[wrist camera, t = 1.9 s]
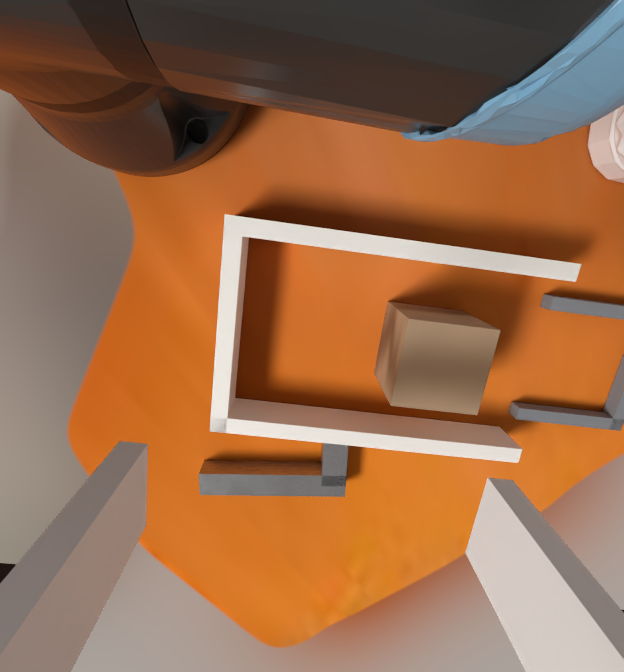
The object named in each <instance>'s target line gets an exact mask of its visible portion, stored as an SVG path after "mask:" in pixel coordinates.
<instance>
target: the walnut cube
mask: <svg viewBox="0 0 624 672" xmlns="http://www.w3.org/2000/svg"><path fill="white" fill-rule="evenodd" d="M500 331H501V330H499V329H497V328H495V327H493V326H491V325H489V324H488V323H486V322H484V321H482V320H480V319H478V318H476V317H474V316H472V315H470V314H468V313H466V312H464V311H461V310H453V309H445V308H438V307H430V306H422V305H414V304H406V303H399V302H391V301H388V303H387V308H386V313H385V318H384V324H383V329H382V334H381V340H380V345H379V350H378V355H377V361H376V366H375V371H374V374H375V376H376V378H377V380H378V382H379V384H380V386H381V388H382V390H383V392H384V394H385V395H386V397H387V399H388V401H389V403H390V405H391V406H398V407H407V408H416V409H425V410H434V411H443V412H452V413H461V414H470V415H478V411H479V407H480V404H481V400H482V397H483V393H484V389H485V386H486V382H487V378H488V375H489V371H490V367H491V364H492V360H493V357H494V353H495V349H496V346H497V342H498V338H499V335H500Z"/></svg>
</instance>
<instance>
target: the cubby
mask: <svg viewBox="0 0 624 672" xmlns="http://www.w3.org/2000/svg"><path fill="white" fill-rule="evenodd" d="M249 237H251V238H258V239H265V240H273V241H280V242H287V243H295V244H302V245H309V246H317V247H324V248H331V249H339V250H346V251H353V252H361V253H368V254H375V255H383V256H390V257H397V258H405V259H412V260H419V261H427V262H434V263H441V264H449V265H456V266H463V267H471V268H478V269H485V270H493V271H500V272H507V273H515V274H522V275H529V276H537V277H544V278H551V279H559V280H566V281H573V282H576V279H577V276H578V273H579V270H580V267H581V264H577V263H570V262H563V261H556V260H549V259H541V258H534V257H527V256H520V255H513V254H506V253H498V252H491V251H484V250H477V249H470V248H463V247H455V246H448V245H441V244H434V243H427V242H420V241H412V240H405V239H398V238H391V237H384V236H377V235H370V234H362V233H355V232H348V231H341V230H334V229H327V228H319V227H312V226H305V225H298V224H291V223H284V222H276V221H269V220H262V219H255V218H248V217H241V216H233V215H226V214H225V220H224V235H223V249H222V263H221V278H220V292H219V306H218V321H217V335H216V349H215V364H214V378H213V392H212V407H211V421H210V431H212V432H222V433H232V434H242V435H251V436H261V437H271V438H281V439H290V440H300V441H310V442H320V443H329V444H339V445H349V446H359V447H368V448H378V449H388V450H398V451H407V452H417V453H427V454H437V455H446V456H456V457H466V458H476V459H485V460H495V461H505V462H515V463H518V462H519V458H520V455H521V452H522V448H521V447H520V446H519V445H518V444H517V443H516V442H515V441H514V440H513V439H512V438H511V437H510V436H509V435H508V434H507V433H506V432H504V431H503V430H502V429H501V428H500V427H498V426H489V425H480V424H471V423H462V422H452V421H443V420H434V419H425V418H416V417H406V416H397V415H388V414H379V413H369V412H360V411H351V410H342V409H333V408H323V407H314V406H305V405H296V404H287V403H277V402H268V401H259V400H250V399H241V398H235V393H236V382H237V370H238V359H239V347H240V336H241V324H242V313H243V302H244V290H245V279H246V267H247V256H248V244H249Z"/></svg>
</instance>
